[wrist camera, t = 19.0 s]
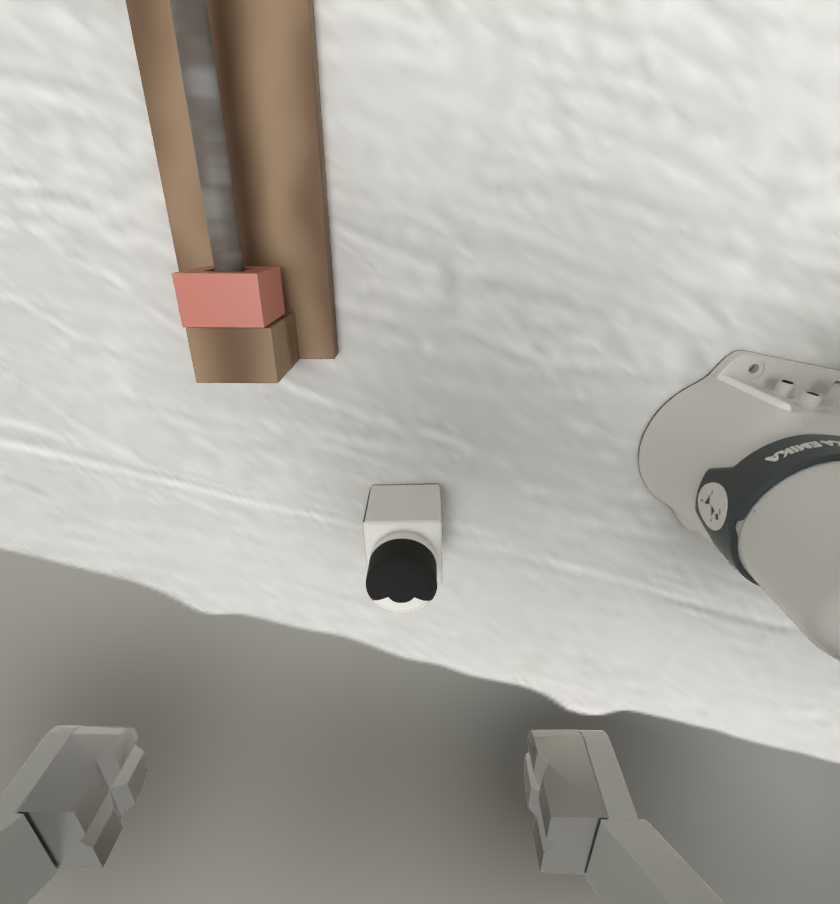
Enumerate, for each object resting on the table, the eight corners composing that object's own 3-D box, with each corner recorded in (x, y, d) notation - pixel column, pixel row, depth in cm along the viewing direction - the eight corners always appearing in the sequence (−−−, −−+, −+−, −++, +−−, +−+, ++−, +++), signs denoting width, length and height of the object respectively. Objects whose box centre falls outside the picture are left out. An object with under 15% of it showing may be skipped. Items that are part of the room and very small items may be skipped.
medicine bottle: (369, 484, 50) (354, 557, 39) (439, 482, 50) (443, 555, 39) (374, 541, 53) (361, 624, 42) (440, 540, 53) (444, 623, 42)
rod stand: (305, -111, 31) (263, -227, 23) (337, 353, 44) (318, 383, 36) (118, -110, 31) (11, -226, 23) (205, 352, 44) (156, 382, 36)
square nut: (279, 266, 37) (256, 273, 32) (285, 313, 39) (264, 327, 34) (206, 265, 37) (171, 273, 32) (214, 313, 39) (182, 327, 34)
